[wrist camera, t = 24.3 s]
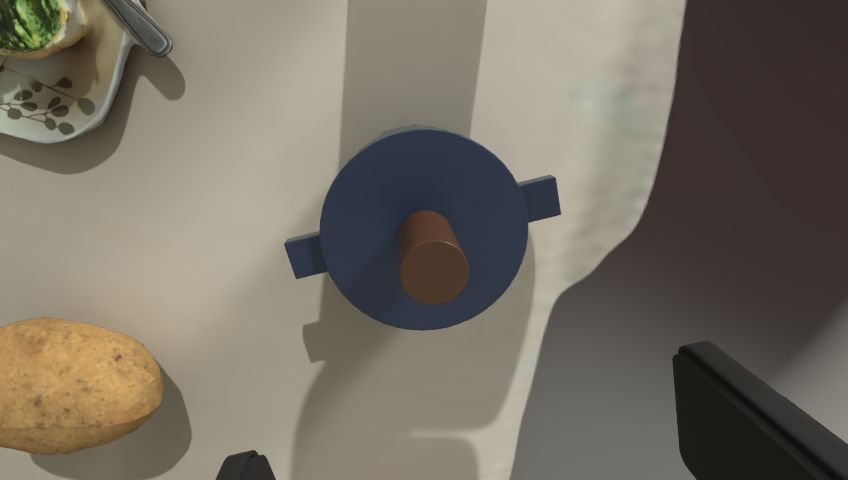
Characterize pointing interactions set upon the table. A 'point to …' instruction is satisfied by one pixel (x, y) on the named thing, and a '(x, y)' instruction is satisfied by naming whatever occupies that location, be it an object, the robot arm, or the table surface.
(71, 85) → the salad plate
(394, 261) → the lid
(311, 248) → the pot
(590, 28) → the table surface
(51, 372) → the potato
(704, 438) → the robot arm
